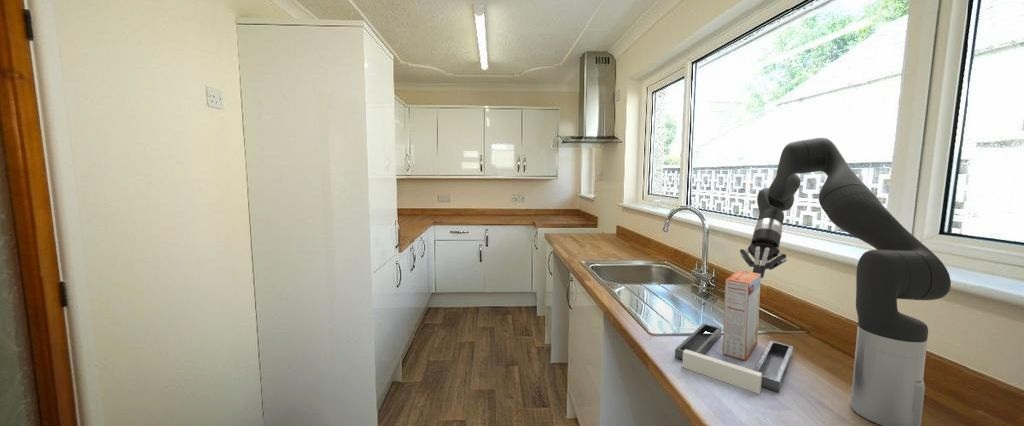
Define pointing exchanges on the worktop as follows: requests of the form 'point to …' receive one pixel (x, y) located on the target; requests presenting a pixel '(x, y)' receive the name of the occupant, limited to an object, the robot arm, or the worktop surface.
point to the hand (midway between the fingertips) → (757, 277)
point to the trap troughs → (769, 364)
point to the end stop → (722, 371)
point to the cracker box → (741, 314)
